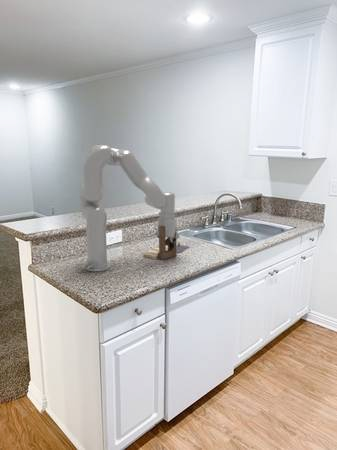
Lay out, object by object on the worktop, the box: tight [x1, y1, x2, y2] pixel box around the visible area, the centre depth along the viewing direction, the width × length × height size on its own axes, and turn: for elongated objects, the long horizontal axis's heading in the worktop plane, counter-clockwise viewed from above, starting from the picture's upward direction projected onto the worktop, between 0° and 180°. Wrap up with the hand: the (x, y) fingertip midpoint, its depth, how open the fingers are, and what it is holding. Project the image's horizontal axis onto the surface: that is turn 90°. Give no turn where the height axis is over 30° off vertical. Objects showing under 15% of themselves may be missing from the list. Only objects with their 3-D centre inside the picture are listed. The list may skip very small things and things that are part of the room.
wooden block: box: [157, 226, 178, 261], centre depth 187 cm, size 4×11×18 cm, turn 132°
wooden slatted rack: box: [142, 241, 181, 260], centre depth 199 cm, size 30×8×2 cm, turn 153°
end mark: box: [176, 244, 190, 254], centre depth 203 cm, size 14×6×1 cm, turn 153°
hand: (167, 247), depth 187 cm, fingers closed on wooden block, 4 cm apart
